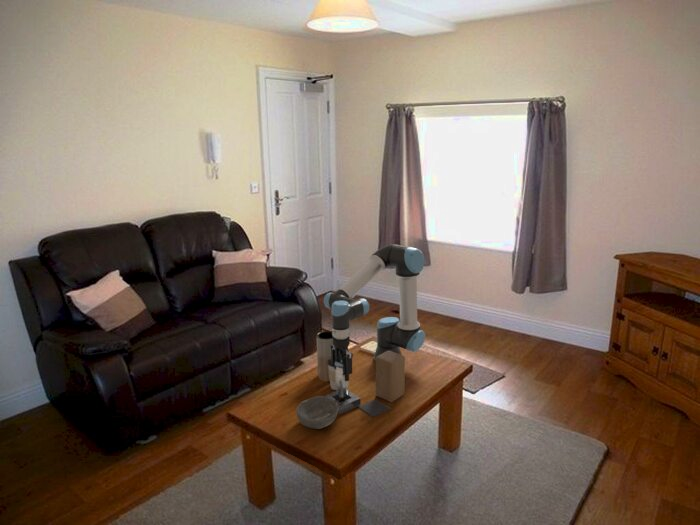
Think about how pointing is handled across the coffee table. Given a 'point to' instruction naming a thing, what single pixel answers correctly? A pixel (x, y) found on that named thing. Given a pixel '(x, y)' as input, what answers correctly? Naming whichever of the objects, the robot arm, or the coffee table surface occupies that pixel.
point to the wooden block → (390, 375)
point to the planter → (324, 354)
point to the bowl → (317, 412)
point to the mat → (374, 408)
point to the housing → (346, 405)
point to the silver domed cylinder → (340, 380)
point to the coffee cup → (332, 375)
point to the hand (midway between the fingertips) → (342, 384)
